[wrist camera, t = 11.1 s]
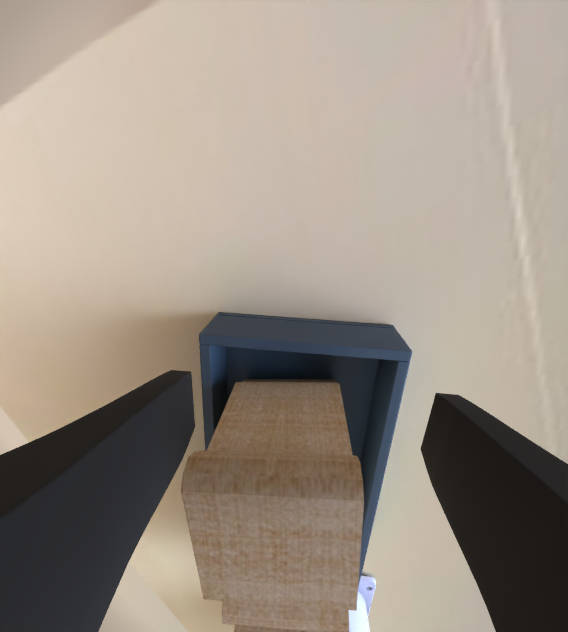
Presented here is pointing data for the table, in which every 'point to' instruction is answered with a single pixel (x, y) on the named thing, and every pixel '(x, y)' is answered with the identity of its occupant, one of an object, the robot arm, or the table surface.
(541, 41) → the table surface
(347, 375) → the open box
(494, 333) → the table surface
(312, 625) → the toy train
